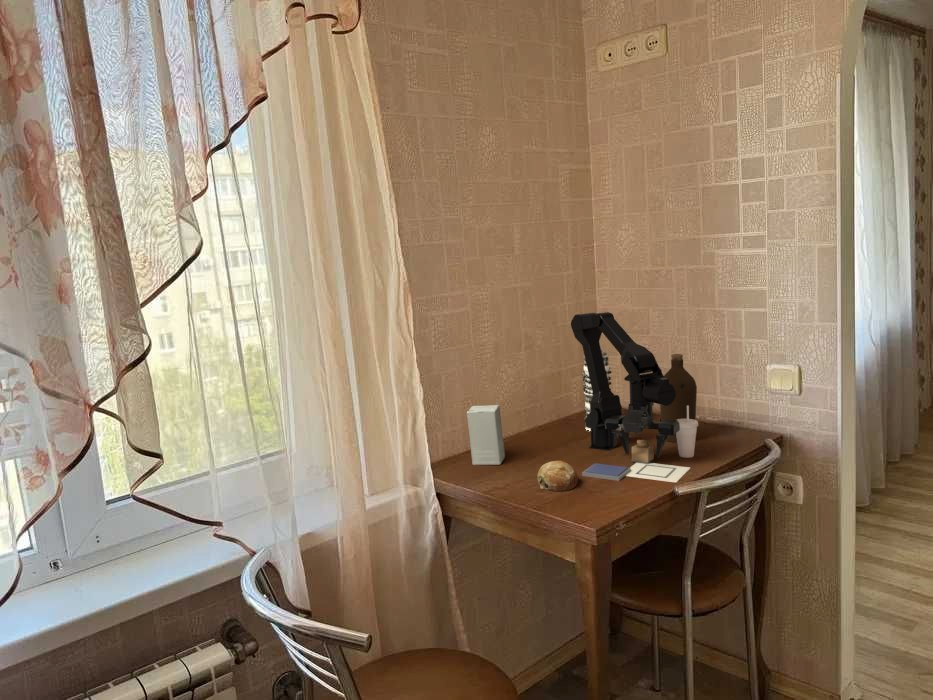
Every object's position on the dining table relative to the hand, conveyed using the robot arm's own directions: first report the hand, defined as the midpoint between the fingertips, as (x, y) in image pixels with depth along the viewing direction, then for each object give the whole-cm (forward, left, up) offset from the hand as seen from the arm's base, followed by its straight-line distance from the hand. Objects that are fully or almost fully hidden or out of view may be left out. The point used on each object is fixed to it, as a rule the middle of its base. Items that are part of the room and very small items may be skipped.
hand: (642, 456), depth 192 cm
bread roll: (-13, -25, -2) cm, 28 cm away
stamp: (0, 0, -1) cm, 1 cm away
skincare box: (-39, -16, -2) cm, 42 cm away
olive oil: (+2, +25, -2) cm, 25 cm away
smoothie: (+9, +9, -2) cm, 13 cm away
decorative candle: (-24, +27, -2) cm, 36 cm away
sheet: (+6, -7, -2) cm, 9 cm away
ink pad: (-5, -13, -2) cm, 14 cm away
